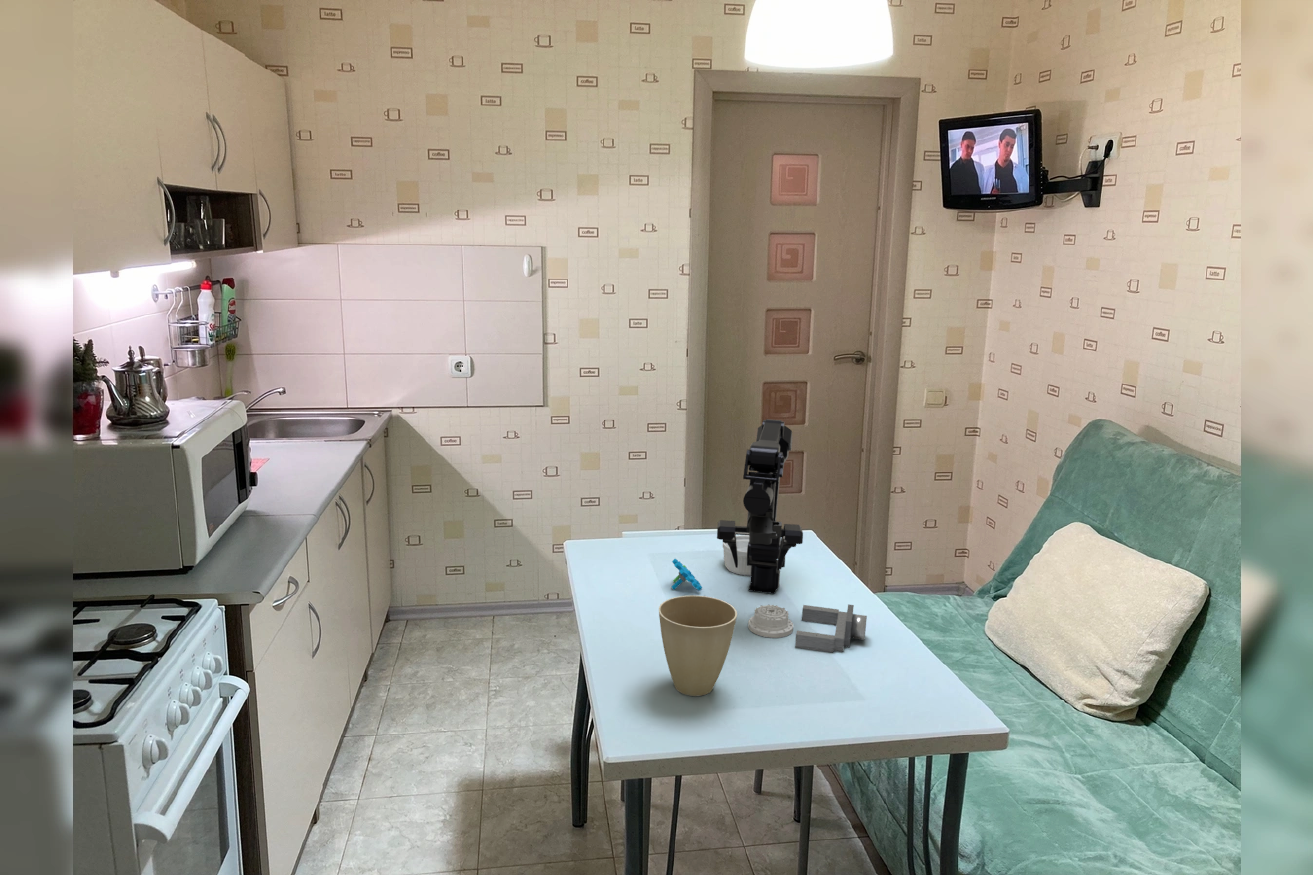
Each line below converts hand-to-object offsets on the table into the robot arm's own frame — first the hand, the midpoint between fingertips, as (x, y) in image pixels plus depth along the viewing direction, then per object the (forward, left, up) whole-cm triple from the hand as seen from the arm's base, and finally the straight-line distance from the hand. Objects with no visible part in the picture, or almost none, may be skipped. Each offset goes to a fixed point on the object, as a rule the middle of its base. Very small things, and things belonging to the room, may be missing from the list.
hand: (757, 568), depth 205 cm
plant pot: (-7, -34, -13) cm, 37 cm away
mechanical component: (+4, -3, -13) cm, 14 cm away
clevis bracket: (+18, -3, -13) cm, 22 cm away
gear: (-19, +13, -13) cm, 26 cm away
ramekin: (-7, +31, -13) cm, 35 cm away
